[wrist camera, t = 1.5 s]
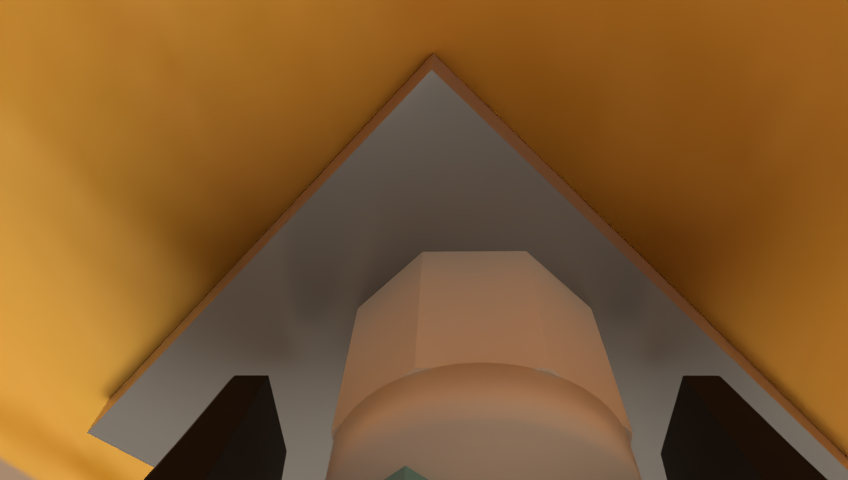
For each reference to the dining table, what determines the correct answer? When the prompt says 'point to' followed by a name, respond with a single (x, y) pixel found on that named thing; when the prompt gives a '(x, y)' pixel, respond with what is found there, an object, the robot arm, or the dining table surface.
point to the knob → (478, 379)
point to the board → (392, 251)
